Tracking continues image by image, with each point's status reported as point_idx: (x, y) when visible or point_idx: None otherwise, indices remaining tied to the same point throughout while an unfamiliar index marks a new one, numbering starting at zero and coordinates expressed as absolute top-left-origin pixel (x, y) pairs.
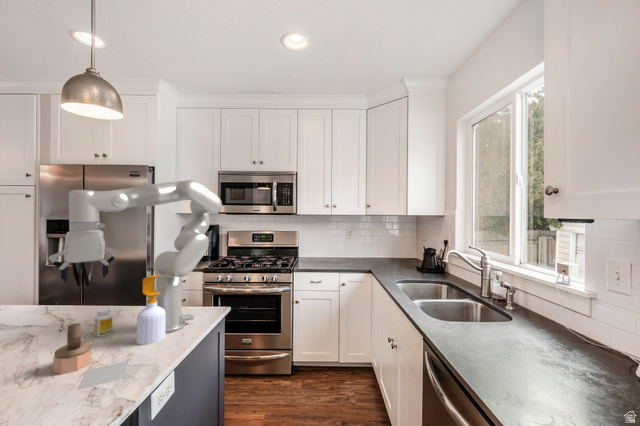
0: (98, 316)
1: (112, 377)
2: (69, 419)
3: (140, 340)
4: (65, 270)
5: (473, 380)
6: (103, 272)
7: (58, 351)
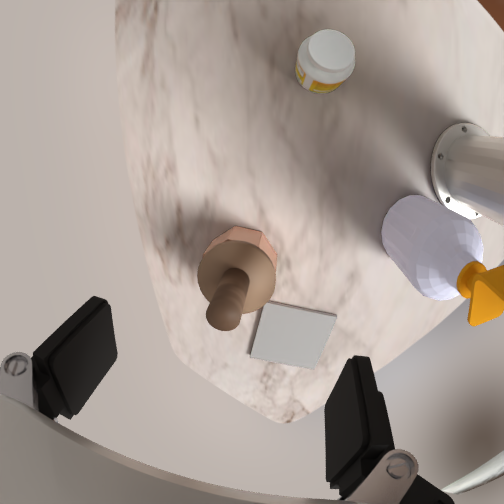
0: (309, 61)
1: (299, 358)
2: (241, 401)
3: (388, 251)
4: (72, 414)
5: (473, 471)
6: (330, 439)
7: (204, 277)
